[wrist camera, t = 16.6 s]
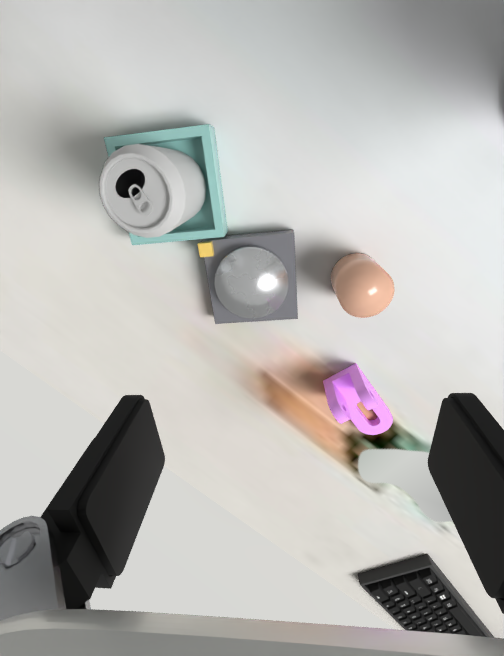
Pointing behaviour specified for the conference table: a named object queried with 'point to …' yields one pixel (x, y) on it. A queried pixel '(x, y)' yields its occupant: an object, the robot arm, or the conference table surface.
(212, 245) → the base
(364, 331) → the conference table surface
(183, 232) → the trough
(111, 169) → the can
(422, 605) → the computer keyboard
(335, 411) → the bracket
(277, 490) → the conference table surface
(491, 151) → the conference table surface
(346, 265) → the peach rounded knob
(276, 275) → the checker pad
